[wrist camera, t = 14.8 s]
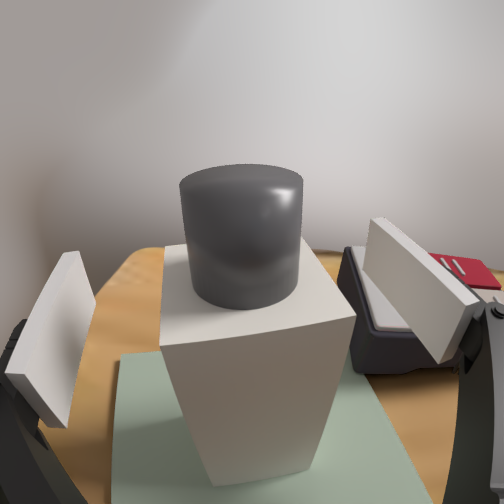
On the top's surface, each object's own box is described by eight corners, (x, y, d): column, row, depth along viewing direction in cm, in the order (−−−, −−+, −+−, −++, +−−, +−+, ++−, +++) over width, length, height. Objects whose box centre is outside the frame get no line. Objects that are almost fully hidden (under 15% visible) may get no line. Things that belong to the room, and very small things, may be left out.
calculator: (538, 327, 16) (373, 326, 16) (512, 367, 18) (352, 374, 19) (482, 255, 25) (345, 237, 26) (467, 291, 27) (335, 279, 28)
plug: (285, 398, 18) (300, 154, 11) (309, 469, 13) (376, 206, 6) (202, 411, 17) (153, 166, 10) (213, 486, 13) (130, 230, 6)
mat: (334, 330, 23) (335, 324, 23) (432, 514, 10) (437, 512, 9) (123, 359, 21) (121, 354, 21) (120, 578, 7) (116, 578, 7)
